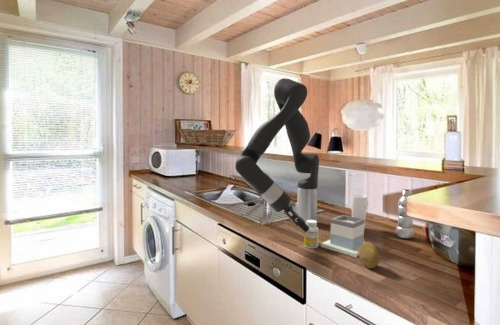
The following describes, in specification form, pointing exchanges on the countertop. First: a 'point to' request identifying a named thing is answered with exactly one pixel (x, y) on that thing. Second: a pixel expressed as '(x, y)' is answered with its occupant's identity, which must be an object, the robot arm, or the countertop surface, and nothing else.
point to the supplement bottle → (311, 234)
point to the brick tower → (346, 235)
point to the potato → (369, 255)
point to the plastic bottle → (404, 217)
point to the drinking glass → (359, 206)
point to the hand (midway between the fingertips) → (305, 226)
